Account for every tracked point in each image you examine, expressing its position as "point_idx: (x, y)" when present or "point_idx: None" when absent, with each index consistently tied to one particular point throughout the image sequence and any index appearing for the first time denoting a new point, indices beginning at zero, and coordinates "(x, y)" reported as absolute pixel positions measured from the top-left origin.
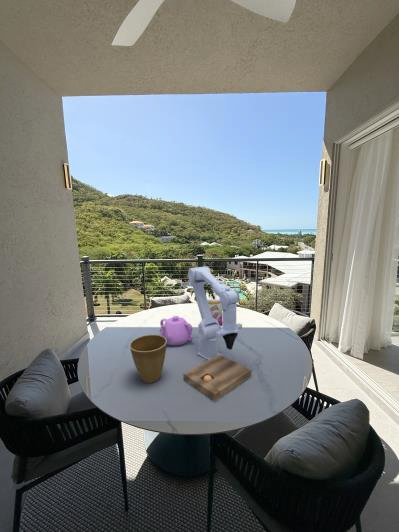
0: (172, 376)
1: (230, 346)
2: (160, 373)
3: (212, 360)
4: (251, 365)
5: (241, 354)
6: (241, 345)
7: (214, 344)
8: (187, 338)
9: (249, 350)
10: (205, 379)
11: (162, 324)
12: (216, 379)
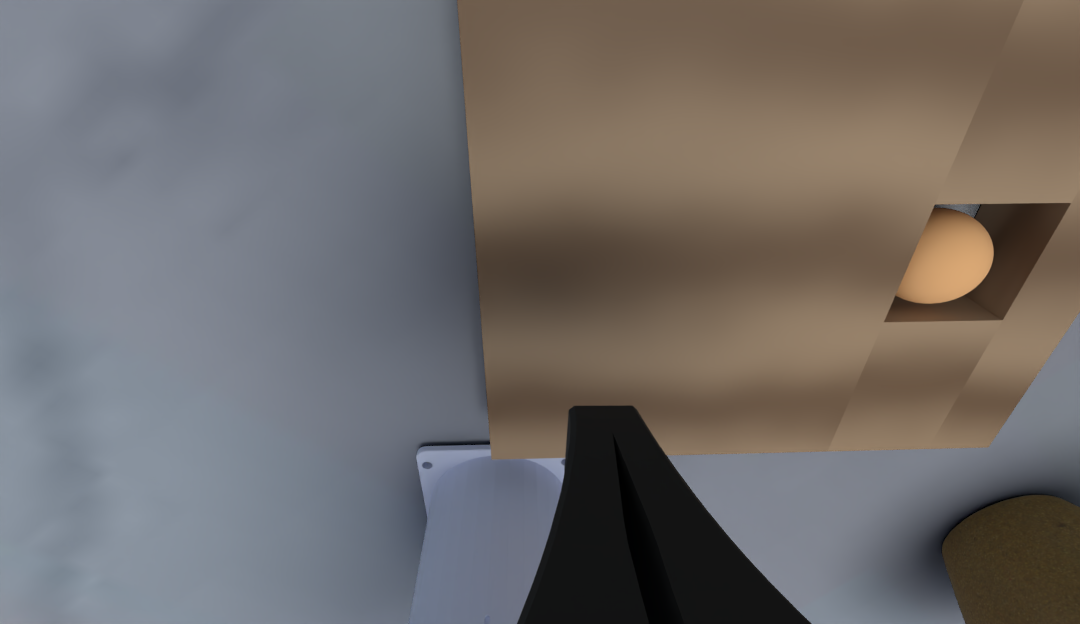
0: (928, 471)
1: (669, 460)
2: (1041, 533)
3: None
4: (267, 129)
5: (223, 350)
6: (110, 447)
7: (509, 592)
8: None
9: (77, 345)
10: (991, 262)
11: None
12: (963, 169)
